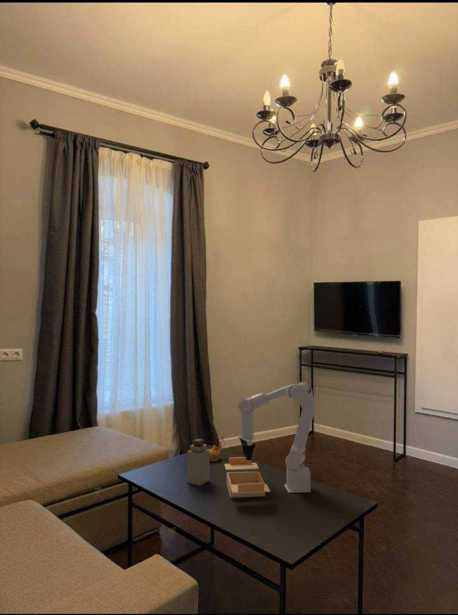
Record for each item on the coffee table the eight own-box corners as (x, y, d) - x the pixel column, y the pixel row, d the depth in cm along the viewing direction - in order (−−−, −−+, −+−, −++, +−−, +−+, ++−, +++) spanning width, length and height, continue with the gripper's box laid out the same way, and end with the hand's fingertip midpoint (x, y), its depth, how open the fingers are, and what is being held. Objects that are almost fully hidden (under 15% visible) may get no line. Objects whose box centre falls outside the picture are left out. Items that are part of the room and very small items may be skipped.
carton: (258, 483, 189) (259, 471, 189) (265, 496, 175) (265, 483, 175) (226, 484, 187) (226, 472, 187) (230, 497, 173) (230, 485, 174)
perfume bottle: (209, 480, 191) (209, 439, 191) (199, 485, 185) (200, 443, 186) (196, 477, 195) (196, 437, 195) (187, 482, 189) (187, 440, 189)
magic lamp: (191, 461, 216) (191, 439, 217) (221, 455, 227) (221, 433, 227) (198, 465, 211) (198, 442, 211) (229, 458, 221) (229, 436, 221)
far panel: (256, 463, 198) (256, 456, 198) (258, 469, 191) (258, 461, 191) (224, 464, 196) (224, 457, 196) (225, 470, 189) (225, 462, 189)
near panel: (266, 484, 173) (266, 476, 173) (270, 491, 166) (270, 483, 166) (230, 486, 172) (230, 477, 172) (232, 493, 165) (232, 484, 165)
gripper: (236, 422, 198) (236, 452, 198) (240, 430, 184) (240, 463, 184) (251, 421, 199) (251, 451, 199) (256, 430, 185) (257, 462, 185)
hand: (247, 457), depth 191 cm, fingers open, 7 cm apart
